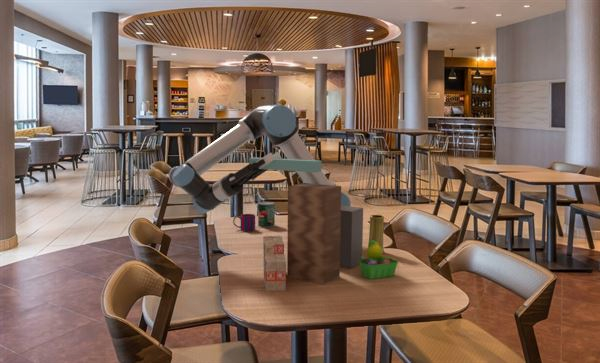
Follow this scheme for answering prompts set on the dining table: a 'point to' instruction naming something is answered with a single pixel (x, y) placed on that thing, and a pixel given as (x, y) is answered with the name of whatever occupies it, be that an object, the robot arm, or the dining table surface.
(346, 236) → the step
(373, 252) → the fruit basket
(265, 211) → the canned tomato
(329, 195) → the stand
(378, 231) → the vase
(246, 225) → the mug
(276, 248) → the stack of blocks
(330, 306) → the dining table surface
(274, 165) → the bar
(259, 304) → the dining table surface
